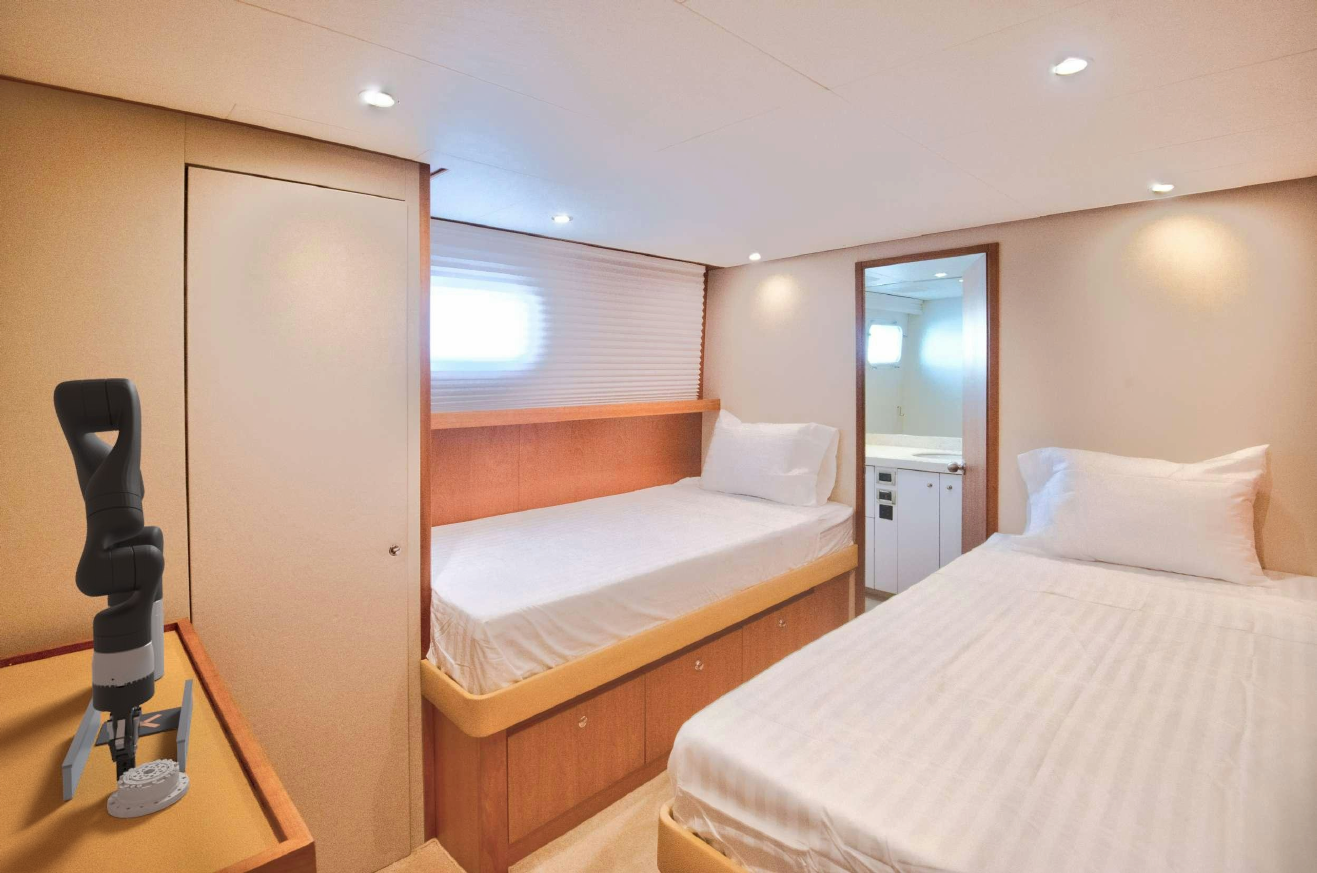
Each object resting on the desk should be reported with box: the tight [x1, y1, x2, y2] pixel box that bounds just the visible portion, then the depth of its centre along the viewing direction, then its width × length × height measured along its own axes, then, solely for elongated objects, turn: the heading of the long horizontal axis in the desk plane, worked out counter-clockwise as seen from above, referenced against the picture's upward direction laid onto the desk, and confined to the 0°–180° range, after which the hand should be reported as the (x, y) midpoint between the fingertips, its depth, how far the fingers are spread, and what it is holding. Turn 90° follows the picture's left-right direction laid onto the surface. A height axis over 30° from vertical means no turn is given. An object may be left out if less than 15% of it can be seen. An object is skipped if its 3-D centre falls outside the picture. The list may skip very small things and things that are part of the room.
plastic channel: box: [61, 678, 194, 802], centre depth 112 cm, size 26×15×6 cm, turn 34°
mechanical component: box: [106, 758, 190, 819], centre depth 99 cm, size 10×4×10 cm
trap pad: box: [95, 706, 182, 747], centre depth 120 cm, size 9×12×1 cm
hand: (126, 778), depth 102 cm, fingers closed
